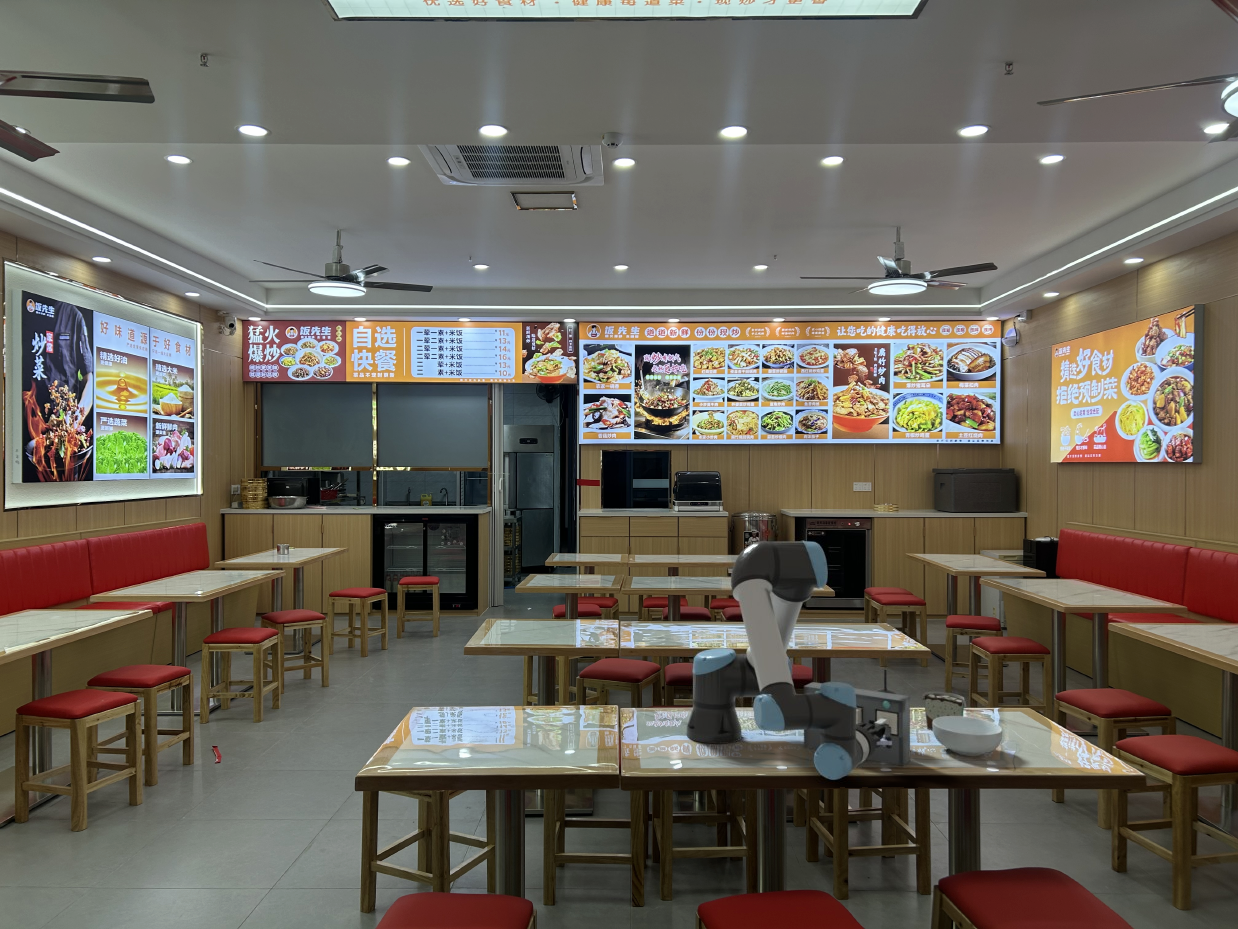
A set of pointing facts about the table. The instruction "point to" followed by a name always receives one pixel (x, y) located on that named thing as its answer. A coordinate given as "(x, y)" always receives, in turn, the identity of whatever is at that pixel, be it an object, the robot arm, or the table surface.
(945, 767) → the table surface
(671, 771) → the table surface
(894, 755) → the keypad
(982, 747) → the cereal bowl
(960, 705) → the mint chip dessert
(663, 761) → the table surface
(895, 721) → the key right
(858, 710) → the key middle
